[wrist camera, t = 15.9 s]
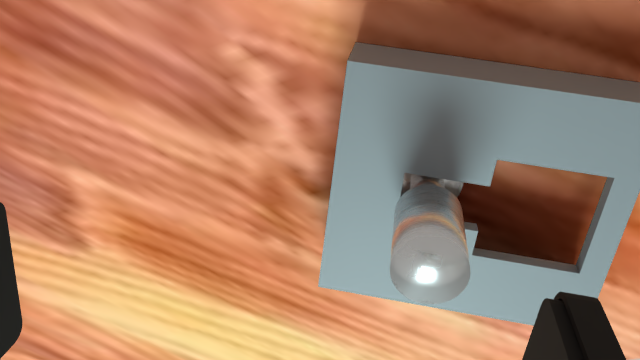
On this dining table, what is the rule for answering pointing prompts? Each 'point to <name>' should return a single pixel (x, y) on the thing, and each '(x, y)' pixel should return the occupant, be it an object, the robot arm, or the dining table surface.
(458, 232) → the steel peg
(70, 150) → the dining table surface
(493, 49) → the dining table surface
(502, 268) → the keyhole plate
